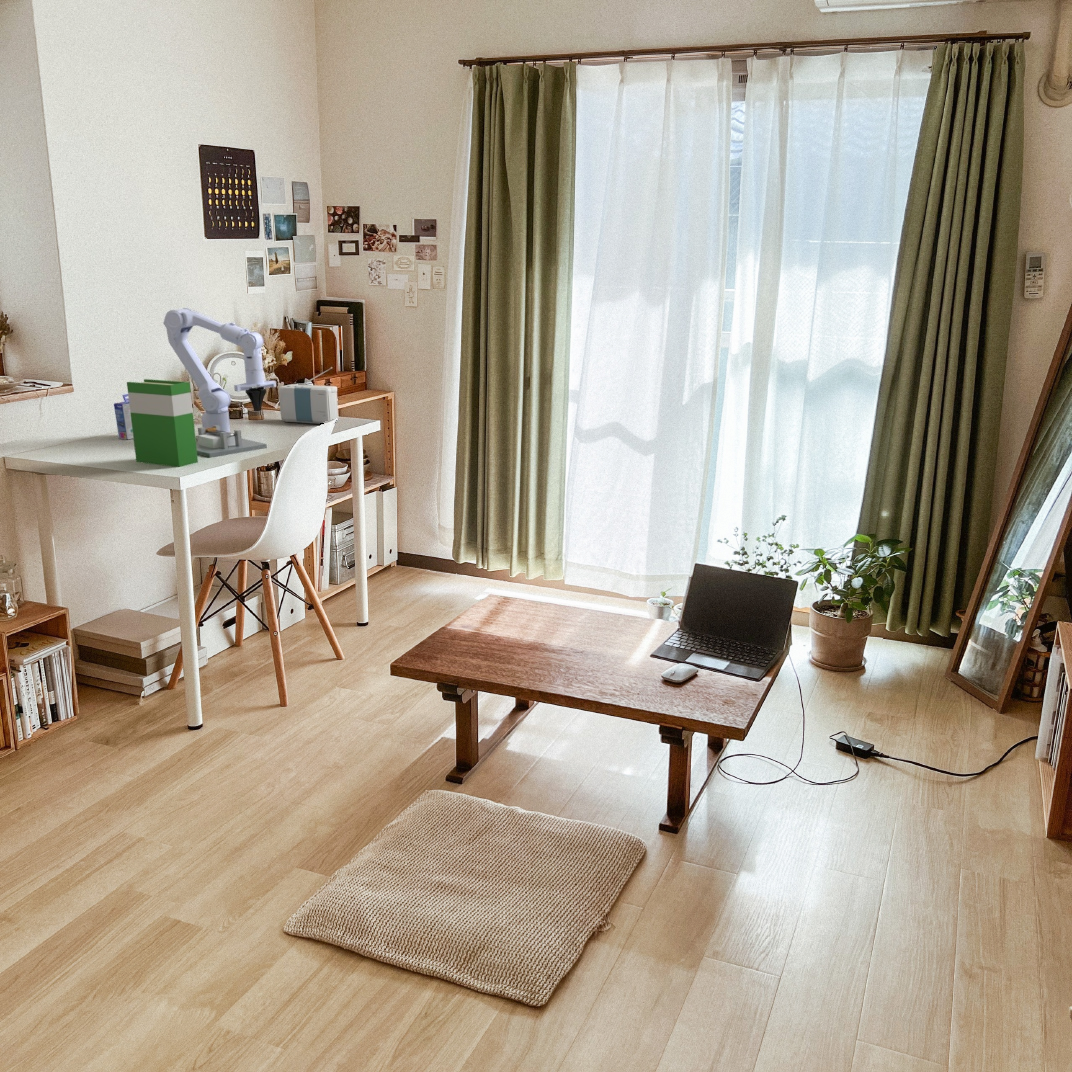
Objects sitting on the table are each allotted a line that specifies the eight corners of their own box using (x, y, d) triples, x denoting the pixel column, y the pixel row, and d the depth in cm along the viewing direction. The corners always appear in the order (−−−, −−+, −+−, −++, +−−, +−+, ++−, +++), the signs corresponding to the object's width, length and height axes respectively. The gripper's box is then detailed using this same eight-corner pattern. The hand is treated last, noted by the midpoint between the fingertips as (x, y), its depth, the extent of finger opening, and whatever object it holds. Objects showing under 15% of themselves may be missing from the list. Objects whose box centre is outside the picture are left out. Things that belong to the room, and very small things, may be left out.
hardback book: (136, 461, 311) (126, 382, 305) (155, 457, 318) (146, 379, 311) (179, 467, 304) (170, 385, 297) (197, 462, 310) (189, 382, 303)
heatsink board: (174, 448, 331) (172, 429, 329) (230, 439, 345) (228, 420, 343) (210, 457, 316) (208, 437, 315) (266, 447, 330) (265, 428, 328)
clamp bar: (203, 432, 333) (203, 428, 332) (212, 431, 335) (211, 427, 335) (227, 437, 323) (226, 433, 323) (236, 436, 325) (235, 431, 325)
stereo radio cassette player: (280, 422, 375) (275, 367, 370) (293, 419, 383) (289, 364, 377) (328, 426, 368) (325, 369, 362) (341, 422, 375) (338, 367, 369)
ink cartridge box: (142, 434, 356) (137, 392, 352) (152, 435, 353) (147, 393, 349) (117, 438, 348) (111, 395, 344) (127, 440, 345) (122, 397, 341)
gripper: (241, 372, 331) (244, 414, 335) (279, 368, 341) (283, 409, 345) (229, 371, 336) (233, 412, 339) (268, 366, 346) (271, 407, 349)
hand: (257, 410), depth 342 cm, fingers closed
